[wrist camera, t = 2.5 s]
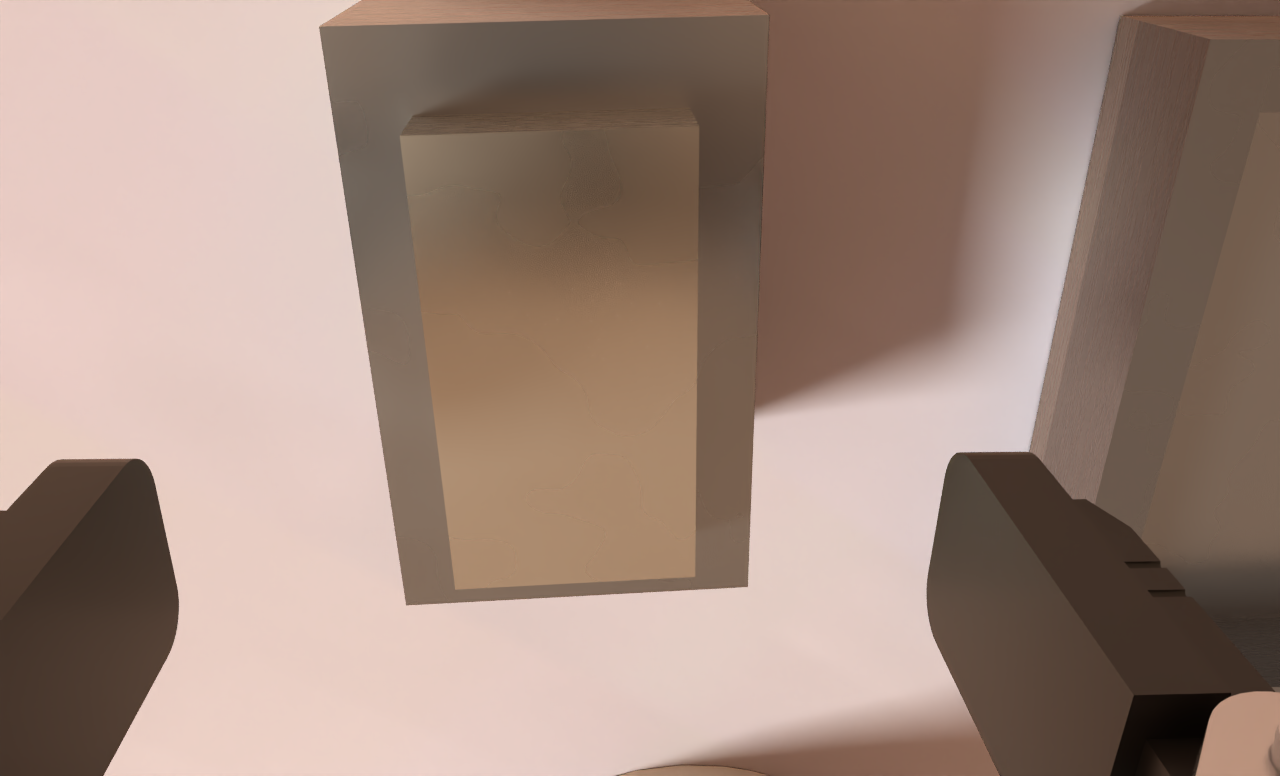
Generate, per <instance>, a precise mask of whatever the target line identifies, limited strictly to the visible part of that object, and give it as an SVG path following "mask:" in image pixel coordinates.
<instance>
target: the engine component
mask: <svg viewBox="0 0 1280 776" xmlns="http://www.w3.org/2000/svg"><path fill="white" fill-rule="evenodd" d="M618 776H769V775H765V774H761V773H758V772H754V771H749V770H743V769H737V768H731V767H725V766H692V765H679V766H670V767H662V768H653V769H645V770H637V771H633V772H629V773H626V774H622V775H618Z"/></svg>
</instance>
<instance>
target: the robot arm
mask: <svg viewBox="0 0 1280 776" xmlns="http://www.w3.org/2000/svg"><path fill="white" fill-rule="evenodd" d="M1160 562H1161V561H1160V560H1159V559H1158V557H1157V556H1156V555H1155V554H1154V553H1153V552H1152V551H1151V550H1150V548H1149V547H1148V546H1147V545H1146V544H1145V543H1144V542H1143V540H1142V539H1141V538H1140V537H1139V536H1138V535H1137V534H1136V532H1135V531H1134V530H1133V529H1132V528H1131V527H1130V526H1128V525H1126V524H1125V523H1123V522H1122V521H1120V520H1118V519H1117V518H1115V517H1114V516H1112V515H1110V514H1109V513H1107V512H1106V511H1104V510H1102V509H1101V508H1099V507H1098V506H1096V505H1094V504H1093V503H1091V502H1090V501H1088V500H1087V499H1072V498H1071V497H1070V496H1069V494H1068V493H1067V492H1066V491H1065V489H1064V488H1063V487H1062V486H1061V485H1060V483H1059V482H1058V481H1057V480H1056V478H1055V477H1054V476H1053V475H1052V474H1051V472H1050V471H1049V470H1048V469H1047V468H1046V466H1045V465H1044V464H1043V463H1042V461H1041V460H1040V459H1039V458H1038V457H1037V456H1036V455H1035V454H1033V453H1031V452H961V453H956V454H955V455H954V456H953V457H952V458H951V460H950V462H949V464H948V467H947V470H946V474H945V479H944V485H943V490H942V496H941V502H940V508H939V514H938V520H937V525H936V531H935V537H934V543H933V549H932V555H931V560H930V566H929V572H928V579H927V609H928V616H929V622H930V626H931V630H932V633H933V637H934V639H935V641H936V644H937V646H938V648H939V650H940V652H941V654H942V656H943V658H944V660H945V662H946V664H947V666H948V669H949V671H950V673H951V675H952V677H953V679H954V681H955V683H956V685H957V687H958V689H959V691H960V694H961V696H962V698H963V700H964V702H965V704H966V706H967V708H968V710H969V712H970V714H971V716H972V718H973V721H974V723H975V725H976V727H977V729H978V731H979V733H980V735H981V737H982V739H983V741H984V743H985V746H986V748H987V750H988V752H989V754H990V756H991V758H992V760H993V762H994V764H995V766H996V768H997V771H998V773H999V775H1000V776H1280V693H1279V692H1275V691H1274V690H1273V688H1272V687H1271V686H1270V685H1269V684H1268V683H1267V682H1266V680H1265V679H1264V678H1263V677H1262V676H1261V675H1260V674H1259V672H1258V671H1257V670H1256V669H1255V668H1254V667H1253V666H1252V664H1251V663H1250V662H1249V661H1248V660H1247V659H1246V658H1245V657H1244V655H1243V654H1242V653H1241V652H1240V651H1239V650H1238V649H1237V647H1236V646H1235V645H1234V644H1233V643H1232V642H1231V641H1230V639H1229V638H1228V637H1227V636H1226V635H1225V634H1224V633H1223V631H1222V630H1221V629H1220V628H1219V627H1218V626H1217V625H1216V623H1215V622H1214V621H1213V620H1212V619H1211V618H1210V617H1209V616H1208V614H1207V613H1206V612H1205V611H1204V610H1203V609H1202V608H1201V606H1200V605H1199V604H1198V603H1197V602H1196V601H1195V600H1194V598H1193V597H1186V594H1185V588H1184V587H1183V586H1182V585H1181V584H1180V583H1179V581H1178V580H1177V579H1176V578H1175V577H1174V576H1173V575H1172V573H1171V572H1170V571H1169V570H1168V569H1167V568H1161V565H1160ZM178 613H179V599H178V590H177V584H176V580H175V575H174V570H173V566H172V561H171V556H170V552H169V547H168V542H167V538H166V533H165V529H164V524H163V519H162V515H161V510H160V505H159V501H158V496H157V491H156V487H155V483H154V479H153V476H152V473H151V471H150V469H149V467H148V466H147V465H146V464H145V462H143V461H142V460H140V459H62V460H56V461H54V462H52V463H51V464H50V465H49V466H48V467H47V468H46V469H45V470H44V471H43V472H42V473H41V474H40V475H39V476H38V477H37V479H36V480H35V481H34V482H33V483H32V484H31V485H30V486H29V487H28V488H27V489H26V490H25V491H24V492H23V494H22V495H21V496H20V497H19V498H18V499H17V500H16V501H15V502H14V503H13V504H12V505H11V506H10V507H9V509H8V510H7V511H0V776H103V775H104V773H105V772H106V770H107V768H108V766H109V764H110V762H111V760H112V759H113V757H114V755H115V753H116V751H117V749H118V748H119V746H120V744H121V742H122V740H123V738H124V736H125V735H126V733H127V731H128V729H129V727H130V725H131V724H132V722H133V720H134V718H135V716H136V714H137V712H138V711H139V709H140V707H141V705H142V703H143V701H144V699H145V698H146V696H147V694H148V692H149V690H150V688H151V687H152V685H153V683H154V681H155V679H156V677H157V675H158V674H159V672H160V670H161V668H162V666H163V664H164V663H165V661H166V659H167V657H168V655H169V653H170V651H171V648H172V645H173V642H174V639H175V635H176V630H177V624H178Z"/></svg>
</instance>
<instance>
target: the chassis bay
mask: <svg viewBox="0 0 1280 776" xmlns="http://www.w3.org/2000/svg"><path fill="white" fill-rule="evenodd" d="M1029 452H1031V453H1033V454H1035V455H1036V456H1037V457H1038V458H1039V459H1040V460H1041V461H1042V463H1043V464H1044V465H1045V466H1046V468H1047V469H1048V470H1049V471H1050V472H1051V474H1052V475H1053V476H1054V477H1055V478H1056V480H1057V481H1058V482H1059V483H1060V485H1061V486H1062V487H1063V488H1064V489H1065V491H1066V492H1067V493H1068V494H1069V496H1070V497H1071V498H1072V499H1087V500H1088V501H1090V502H1091V503H1093V504H1094V505H1096V506H1098V507H1099V508H1101V509H1102V510H1104V511H1106V512H1107V513H1109V514H1110V515H1112V516H1114V517H1115V518H1117V519H1118V520H1120V521H1122V522H1123V523H1125V524H1126V525H1128V526H1130V527H1131V528H1132V529H1133V530H1134V531H1135V532H1136V534H1137V535H1138V536H1139V537H1140V538H1141V539H1142V540H1143V542H1144V543H1145V544H1146V545H1147V546H1148V547H1149V548H1150V550H1151V551H1152V552H1153V553H1154V554H1155V555H1156V556H1157V557H1158V559H1159V560H1160V561H1161V562H1160V565H1161V568H1167V569H1168V570H1169V571H1170V572H1171V573H1172V575H1173V576H1174V577H1175V578H1176V579H1177V580H1178V581H1179V583H1180V584H1181V585H1182V586H1183V587H1184V588H1185V594H1186V597H1193V598H1194V600H1195V601H1196V602H1197V603H1198V604H1199V605H1200V606H1201V608H1202V609H1203V610H1204V611H1205V612H1206V613H1207V614H1208V616H1209V617H1210V618H1211V619H1212V620H1213V621H1214V622H1215V623H1216V625H1217V626H1218V627H1219V628H1220V629H1221V630H1222V631H1223V633H1224V634H1225V635H1226V636H1227V637H1228V638H1229V639H1230V641H1231V642H1232V643H1233V644H1234V645H1235V646H1236V647H1237V649H1238V650H1239V651H1240V652H1241V653H1242V654H1243V655H1244V657H1245V658H1246V659H1247V660H1248V661H1249V662H1250V663H1251V664H1252V666H1253V667H1254V668H1255V669H1256V670H1257V671H1258V672H1259V674H1260V675H1261V676H1262V677H1263V678H1264V679H1265V680H1266V682H1267V683H1268V684H1269V685H1270V686H1271V687H1272V688H1273V690H1274V691H1275V692H1279V693H1280V16H1120V20H1119V25H1118V30H1117V34H1116V39H1115V44H1114V49H1113V54H1112V58H1111V63H1110V68H1109V73H1108V77H1107V82H1106V87H1105V92H1104V97H1103V101H1102V106H1101V111H1100V116H1099V120H1098V125H1097V130H1096V135H1095V140H1094V144H1093V149H1092V154H1091V159H1090V164H1089V168H1088V173H1087V178H1086V183H1085V187H1084V192H1083V197H1082V202H1081V207H1080V211H1079V216H1078V221H1077V226H1076V230H1075V235H1074V240H1073V245H1072V250H1071V254H1070V259H1069V264H1068V269H1067V273H1066V278H1065V283H1064V288H1063V293H1062V297H1061V302H1060V307H1059V312H1058V317H1057V321H1056V326H1055V331H1054V336H1053V340H1052V345H1051V350H1050V355H1049V360H1048V364H1047V369H1046V374H1045V379H1044V383H1043V388H1042V393H1041V398H1040V403H1039V407H1038V412H1037V417H1036V422H1035V427H1034V431H1033V436H1032V441H1031V446H1030V450H1029Z"/></svg>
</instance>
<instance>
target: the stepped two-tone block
mask: <svg viewBox="0 0 1280 776" xmlns="http://www.w3.org/2000/svg"><path fill="white" fill-rule="evenodd" d="M319 29H320V35H321V42H322V49H323V55H324V62H325V69H326V75H327V82H328V89H329V95H330V102H331V108H332V115H333V122H334V128H335V135H336V142H337V148H338V155H339V162H340V168H341V175H342V181H343V188H344V195H345V201H346V208H347V215H348V221H349V228H350V235H351V241H352V248H353V254H354V261H355V268H356V274H357V281H358V288H359V294H360V301H361V308H362V314H363V321H364V327H365V334H366V341H367V347H368V354H369V361H370V367H371V374H372V381H373V387H374V394H375V400H376V407H377V414H378V420H379V427H380V434H381V440H382V447H383V453H384V460H385V467H386V473H387V480H388V487H389V493H390V500H391V507H392V513H393V520H394V526H395V533H396V540H397V546H398V553H399V560H400V566H401V573H402V580H403V586H404V593H405V599H406V605H421V604H439V603H458V602H476V601H495V600H513V599H532V598H550V597H569V596H587V595H606V594H624V593H643V592H661V591H680V590H698V589H717V588H735V587H748V565H749V538H750V512H751V485H752V459H753V433H754V406H755V380H756V353H757V327H758V301H759V274H760V248H761V221H762V195H763V169H764V142H765V116H766V89H767V63H768V37H769V14H767V13H766V12H765V11H763V10H762V9H760V8H759V7H757V6H756V5H755V4H753V3H752V2H750V1H749V0H361V1H360V2H358V3H356V4H355V5H353V6H352V7H350V8H348V9H347V10H345V11H343V12H342V13H340V14H339V15H337V16H335V17H334V18H332V19H331V20H329V21H327V22H326V23H324V24H323V25H321V26H319Z"/></svg>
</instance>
